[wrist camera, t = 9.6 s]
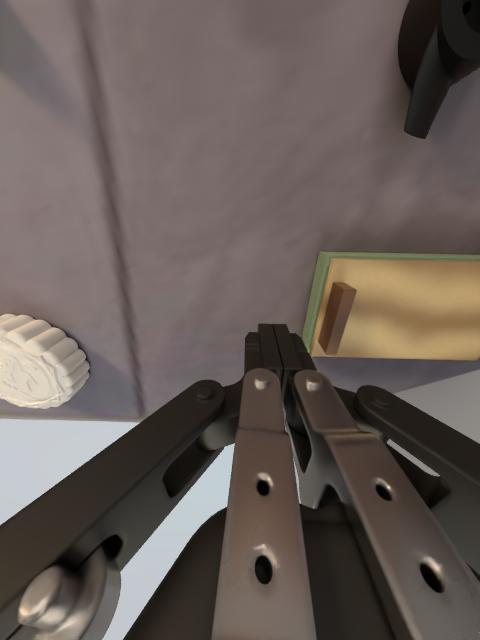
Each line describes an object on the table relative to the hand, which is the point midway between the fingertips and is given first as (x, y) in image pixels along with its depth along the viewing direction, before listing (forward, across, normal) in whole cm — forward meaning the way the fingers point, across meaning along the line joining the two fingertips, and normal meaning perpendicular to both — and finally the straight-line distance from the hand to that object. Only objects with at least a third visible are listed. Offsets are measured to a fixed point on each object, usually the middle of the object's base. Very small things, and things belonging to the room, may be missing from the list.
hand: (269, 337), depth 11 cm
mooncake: (+9, +27, +10) cm, 30 cm away
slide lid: (+7, -14, +2) cm, 16 cm away
